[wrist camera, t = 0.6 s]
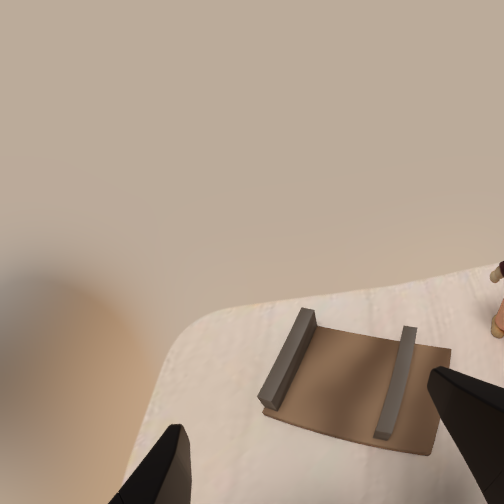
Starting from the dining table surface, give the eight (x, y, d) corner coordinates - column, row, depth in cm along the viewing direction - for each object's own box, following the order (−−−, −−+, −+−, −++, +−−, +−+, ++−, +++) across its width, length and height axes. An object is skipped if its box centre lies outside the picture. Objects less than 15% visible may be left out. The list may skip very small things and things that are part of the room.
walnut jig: (449, 353, 21) (458, 333, 19) (428, 455, 15) (440, 447, 13) (306, 327, 28) (301, 307, 26) (264, 415, 22) (254, 402, 20)
